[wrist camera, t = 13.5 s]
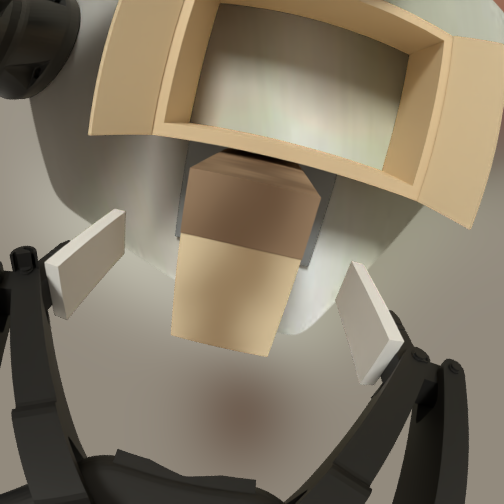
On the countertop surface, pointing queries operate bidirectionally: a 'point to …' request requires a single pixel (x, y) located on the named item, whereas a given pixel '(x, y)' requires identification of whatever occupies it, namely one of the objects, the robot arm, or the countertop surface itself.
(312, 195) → the block
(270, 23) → the countertop surface
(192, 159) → the mat
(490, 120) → the carton
